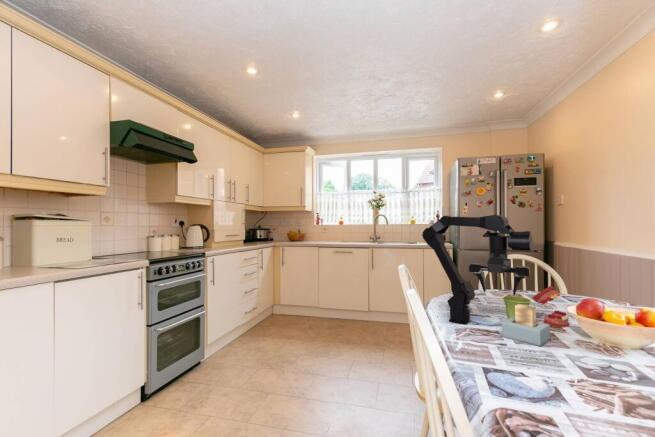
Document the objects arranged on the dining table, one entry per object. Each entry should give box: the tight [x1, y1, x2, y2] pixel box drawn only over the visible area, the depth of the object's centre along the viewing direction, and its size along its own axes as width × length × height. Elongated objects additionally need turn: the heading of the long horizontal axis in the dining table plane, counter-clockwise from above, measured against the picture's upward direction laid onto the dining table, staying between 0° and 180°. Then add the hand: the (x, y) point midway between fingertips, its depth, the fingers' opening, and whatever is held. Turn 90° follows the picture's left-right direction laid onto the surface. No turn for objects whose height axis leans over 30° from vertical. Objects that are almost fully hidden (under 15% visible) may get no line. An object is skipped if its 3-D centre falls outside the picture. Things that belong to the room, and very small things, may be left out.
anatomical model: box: [531, 285, 570, 328], centre depth 115 cm, size 10×8×15 cm
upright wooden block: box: [515, 304, 537, 327], centre depth 100 cm, size 5×3×10 cm, turn 37°
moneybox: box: [501, 317, 551, 348], centre depth 100 cm, size 11×9×5 cm
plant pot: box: [502, 295, 532, 319], centre depth 117 cm, size 9×9×9 cm
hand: (499, 293), depth 108 cm, fingers open, 9 cm apart
